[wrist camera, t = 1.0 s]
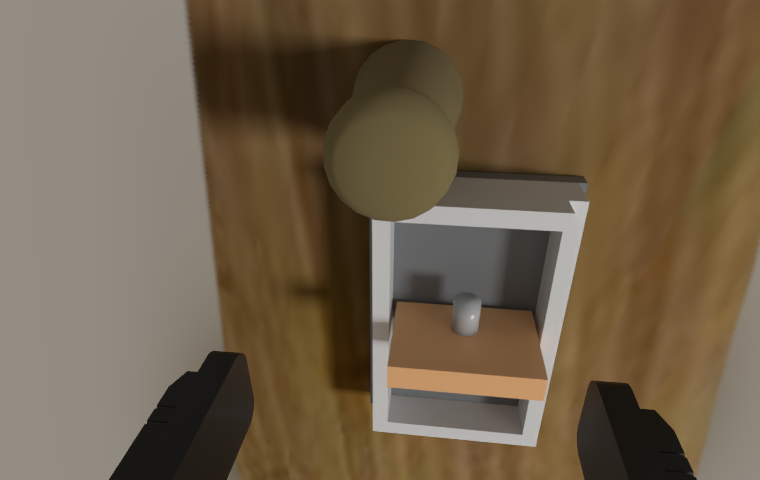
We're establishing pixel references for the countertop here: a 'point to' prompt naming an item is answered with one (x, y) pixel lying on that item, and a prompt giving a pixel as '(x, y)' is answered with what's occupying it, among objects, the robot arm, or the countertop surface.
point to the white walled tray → (476, 290)
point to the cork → (396, 133)
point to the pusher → (466, 350)
